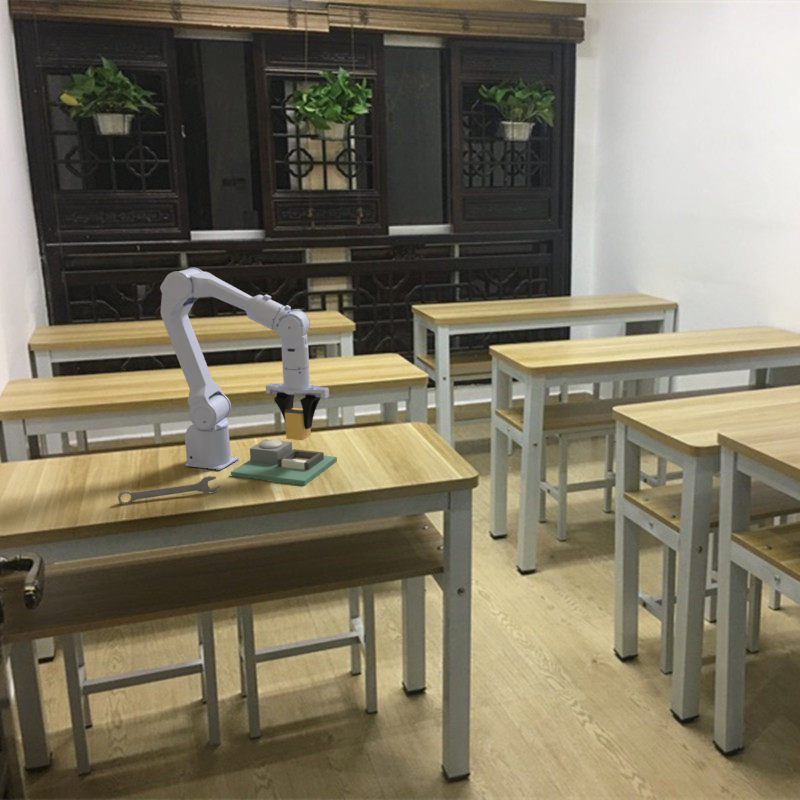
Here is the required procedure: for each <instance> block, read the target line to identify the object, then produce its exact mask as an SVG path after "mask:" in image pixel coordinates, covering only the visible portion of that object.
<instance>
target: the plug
mask: <svg viewBox="0 0 800 800" xmlns="http://www.w3.org/2000/svg"><path fill="white" fill-rule="evenodd" d="M284 424H285V439H287V440H296V441H304V440H306V439H307V438H308V437H310V436H311V435H312V433H311V431H312V430H311V429H312V427H311V428H309V429H305V426H304V414H303V408H302V407H300V408H299V407H293V408H292V409H285V420H284Z"/></svg>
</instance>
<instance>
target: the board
mask: <svg viewBox="0 0 800 800" xmlns="http://www.w3.org/2000/svg"><path fill="white" fill-rule="evenodd" d="M249 455H250V456H249V457H250V459H249V460H247V461H246V462H245V463H242V464H241V465H239V466H238V467H236V468H234V469H232V471H230V476H231V475H232V476H231V477H234V476H238V477H237V478H242V477H244V478H243V479H250V478H254V479H253V480H258V479H262V480H261V481H266V480H269V482H274V481H275V482H276V483H283V484H291V485H298V486H306V485H308V484H309V483H310V482H311V481H313V480H314V479H316V476H317V477H319V475H321V474H323V472H324V471H326V470H327V469H329V468H330V467H332V466H333V465H334V464H336V463H337V461H338V456H333V455H332V456H329V455H325V454H324V452H323V451H316V450H315V451H314V450H306V449H305V450H304V449H295V448H294V449H293V442H292V441H284V440H275V439H263V440H261V441H260V442H259V443H257V444H255V445H253V446H252V447H250V448H249ZM275 482H274V483H275Z"/></svg>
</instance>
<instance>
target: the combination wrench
mask: <svg viewBox="0 0 800 800" xmlns="http://www.w3.org/2000/svg"><path fill="white" fill-rule="evenodd" d="M216 478H217V476H215V475H213V476H212V475H209V476H205V477H204V476H203V478H201V480H200V481H198V482H196V483H192V484H183V485H177V486H170V487H169V486H168V487H160V488H153V489H146V490H139V491H138V490H137V491H130V490H123V491H122V490H121V492H119V494H118V496H117V499H118V502H119V504H121V505H128V504H131V503H132V502H135V501H138V500H141V499H149V498H150V499H151V498H155V497H163V496H170V495H176V494H182V493H188V492H189V493H191V492H196V491H197V492H203V493H204V494H210V493H209V492H214V493H216V492H217V491H219V489H220V488H221V486H220V485H217V486H214V487H210V486H209V482H210V481H211V482H212V481H213V480H215V479H216ZM124 494H129V496H130V500H128V501H125V502H124V501H122V500H121V499H122V498H121V497H122V496H123V495H124Z"/></svg>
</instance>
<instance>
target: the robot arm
mask: <svg viewBox="0 0 800 800" xmlns="http://www.w3.org/2000/svg"><path fill="white" fill-rule="evenodd" d="M159 290H160V292H161V303H160V317H161V320H162V321H163V325H164V327H165V330H166V332H167V335H168V337H169V340H170V342H171V345H172V347H173V350H174V353H175V354H176V358H177V360H178V362H179V365H180V368H181V370H182V373H183V375H184V376H183V377H184V378H185V381H186V383H187V386H188V388H189V392H188V396H187V403H188V406H189V418H190V419H189V420H190V421H191V423H192V424H191V425H189V426H187V427H188V428H187V429H186V431H185V434H184V443H185V444H184V445H185V456H186V463H184V466H185V467H191V468H200V469H207V468H208V470H215V469H216V471H221V470H223V469H225V468H226V467H228V466H230V465H231V464H234V463H235V462H236V461H238V460H239V457H238V456H231V445H230V444H231V443H230V432H229V421H228V416H229V415H230V413H231V411H232V404H231V401H230V398H228V397H227V396H226V395H225V393H224V392H223V391H222V388H221V386H220V385H219V384H218V383H217V382H215V380H213V377H212V375H211V373H210V372H211V371H210V370H209V367H208V365H207V364H208V363H207V362H206V360H205V359H206V358H205V356H204V354H203V351H202V349H201V346H200V343H199V341H198V338H197V335H196V334H195V330H194V328H193V326H192V323H191V320H190V317H189V313H190V311H191V309H192V307H193V306H194V303H195V302H196V301H197V300H198V299H199V298H206V297H213V298H215V299H218V300H220V301H222V302H224V303H227V304H229V305H231V306H234V307H236V308H239V309H241V310H243V311H245V312H246V315H247V318H248V319H249V320H251V321H253V322H255V323H257V324H260V325H261V326H263V327H266V328H268V329H270V330H272V331H274V332H277V335H278V336H279V338H280V340H281V341H280V342H281V361H282V362H281V364H282V377H283V378H282V379H283V380H282V382H283V383H271V382H270V383H268V384H266V385H265V394H266V395H271V394H276V396H275V397H274V398H273V399H274V403H276V406H278V408H279V410H280V412H281V415H282V418H283V420H284V421H285V409H292V408H294V400H295V396H299V397H301V396H302V398H301V399H300V401H299V402H300V405H301V408H302V409H303V414H304V426H305V429H309V428H311V429H312V426H313V422H314V421H313V420H314V416H315V412H316V409H317V406H318V404H319V402H320V400H321V399H327V398H329V397H330V388H329V387H325V386H324V387H323V386H319V385H314V384H311V381H310V380H311V377H310V359H309V358H310V357H309V355H310V353H309V344H308V343H309V342H308V334H307V333H308V332H309V330H310V327H311V320H310V317H309V316H308V315H307V314H306V313H305V312H304V311H303V310H302V309H299V308H297V309H296V308H295V309H294V308H293V309H291V308H292V307H291V306H290V305H289V304H287V305H284V304H281V303H279V302H277V301H275V300H272V296H271V295H268V294H265V295H262V294H257V295H255V296H252V295H250V294H248V293H246V292H244V291H242V290H240V289H239V288H237V287H235V286H233V285H232V284H230V283H228V282H226V281H224V280H222V279H220V278H219V277H216V276H215V275H214V274H212V273H211V272H208V271H203V270H202V269H200V268H197V267H189V268H186V269H182V270H179V271H176V270H175V271H172V272H170V273H168V274H167V275H166V276H165V278H164V279H163V281H162V283H161V285H160V287H159Z"/></svg>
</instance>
